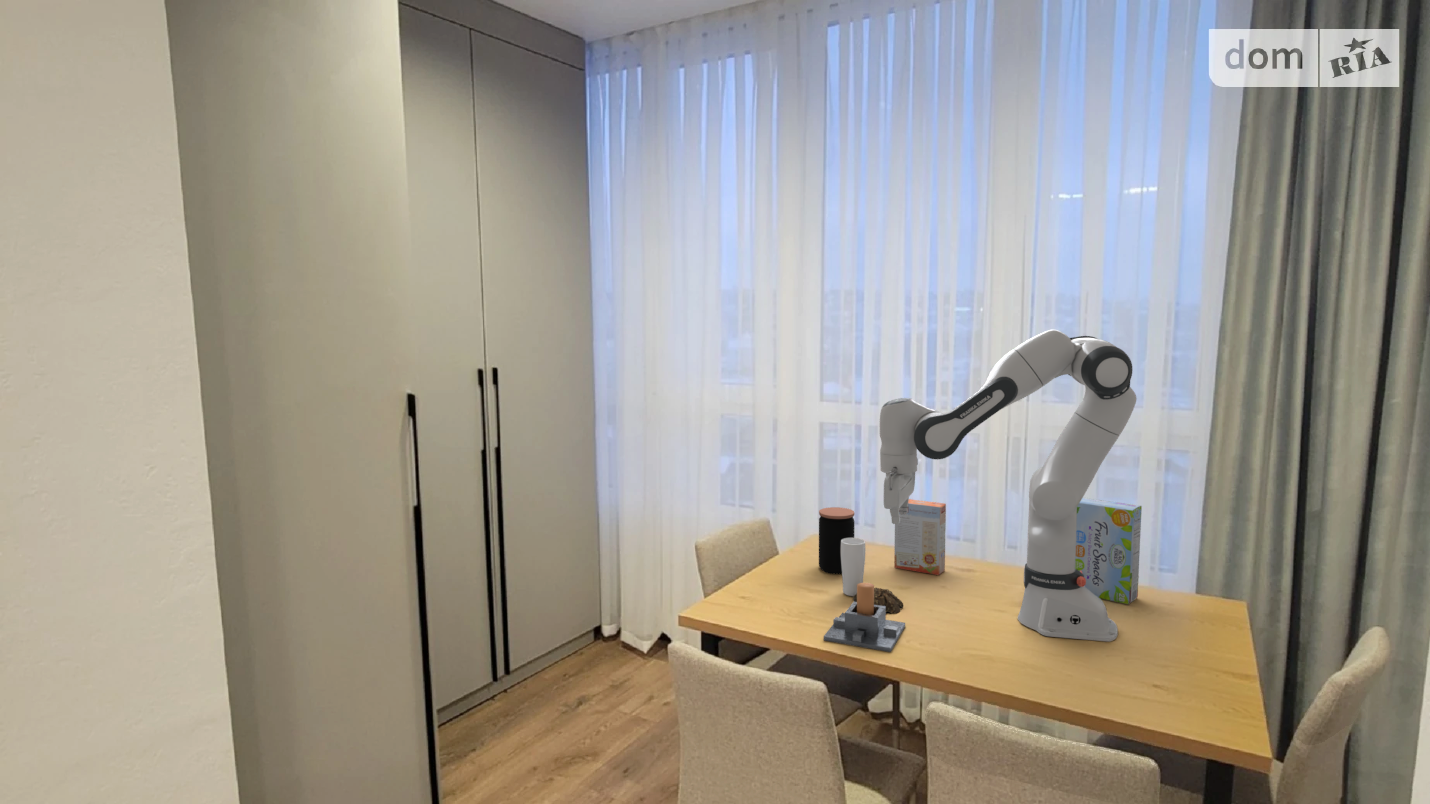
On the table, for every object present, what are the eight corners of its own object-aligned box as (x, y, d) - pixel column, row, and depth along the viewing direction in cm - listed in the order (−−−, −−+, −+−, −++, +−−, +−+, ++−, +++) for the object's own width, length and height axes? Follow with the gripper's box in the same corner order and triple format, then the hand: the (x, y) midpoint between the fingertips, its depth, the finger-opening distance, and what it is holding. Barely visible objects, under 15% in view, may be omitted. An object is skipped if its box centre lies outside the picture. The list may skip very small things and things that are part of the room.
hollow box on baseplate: (905, 626, 191) (905, 603, 190) (890, 652, 177) (891, 627, 176) (842, 616, 198) (842, 593, 197) (823, 640, 183) (823, 616, 183)
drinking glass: (866, 597, 210) (867, 544, 209) (842, 598, 211) (842, 544, 209) (862, 589, 217) (863, 537, 215) (838, 589, 217) (839, 537, 216)
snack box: (1139, 597, 209) (1144, 504, 206) (1129, 606, 202) (1134, 511, 199) (1056, 579, 223) (1060, 492, 221) (1045, 587, 217) (1048, 498, 214)
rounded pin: (875, 627, 188) (875, 584, 187) (871, 633, 185) (871, 589, 183) (859, 624, 190) (859, 581, 189) (854, 630, 186) (855, 587, 185)
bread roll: (848, 600, 210) (848, 582, 209) (889, 595, 213) (890, 578, 212) (868, 617, 198) (868, 598, 197) (912, 612, 201) (912, 594, 200)
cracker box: (945, 570, 232) (947, 502, 230) (938, 576, 227) (940, 507, 225) (900, 562, 240) (901, 497, 238) (893, 568, 235) (894, 501, 233)
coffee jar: (859, 567, 236) (859, 509, 234) (845, 577, 227) (846, 517, 225) (827, 561, 242) (827, 505, 240) (812, 571, 233) (813, 513, 231)
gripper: (903, 472, 180) (904, 530, 181) (918, 457, 198) (920, 509, 200) (876, 471, 182) (877, 528, 184) (894, 456, 201) (895, 508, 202)
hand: (899, 518), depth 192 cm, fingers open, 8 cm apart
